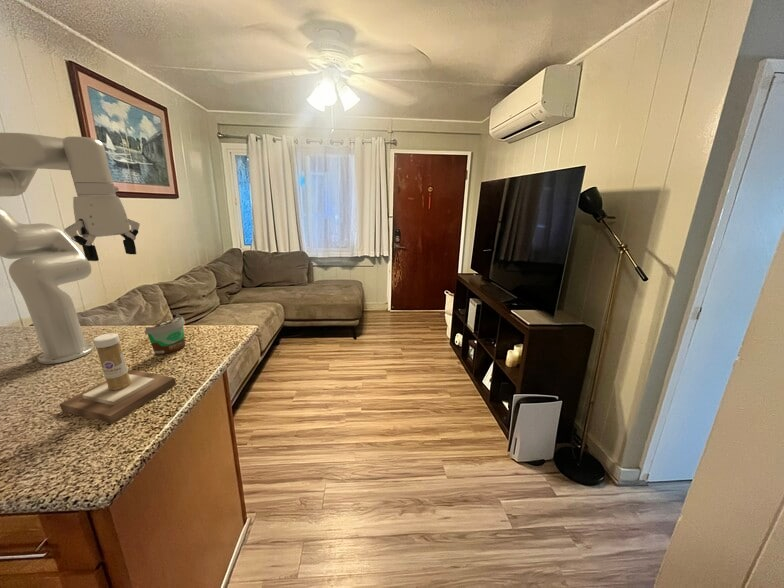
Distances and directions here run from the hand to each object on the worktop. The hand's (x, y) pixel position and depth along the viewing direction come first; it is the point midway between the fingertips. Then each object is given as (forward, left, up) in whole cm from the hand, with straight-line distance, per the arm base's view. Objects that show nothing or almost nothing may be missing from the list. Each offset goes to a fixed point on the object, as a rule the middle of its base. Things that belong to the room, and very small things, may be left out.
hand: (113, 257), depth 87 cm
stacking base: (+12, -14, -32) cm, 37 cm away
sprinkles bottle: (+12, -14, -30) cm, 35 cm away
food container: (+2, +10, -32) cm, 34 cm away
